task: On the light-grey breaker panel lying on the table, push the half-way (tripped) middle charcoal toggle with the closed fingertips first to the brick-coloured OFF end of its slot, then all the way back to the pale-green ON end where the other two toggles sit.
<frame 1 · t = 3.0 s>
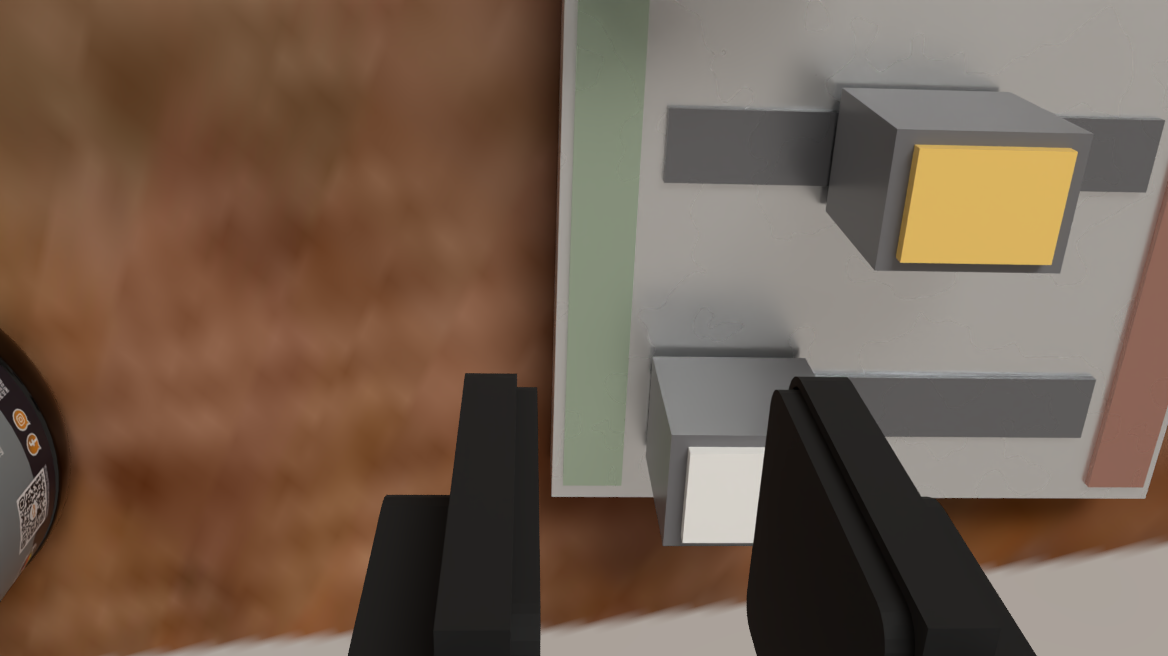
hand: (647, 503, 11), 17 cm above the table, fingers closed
panel: (886, 129, 27), on the table
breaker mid: (948, 178, 23), point 4 cm above the table, slide at 4.0 cm
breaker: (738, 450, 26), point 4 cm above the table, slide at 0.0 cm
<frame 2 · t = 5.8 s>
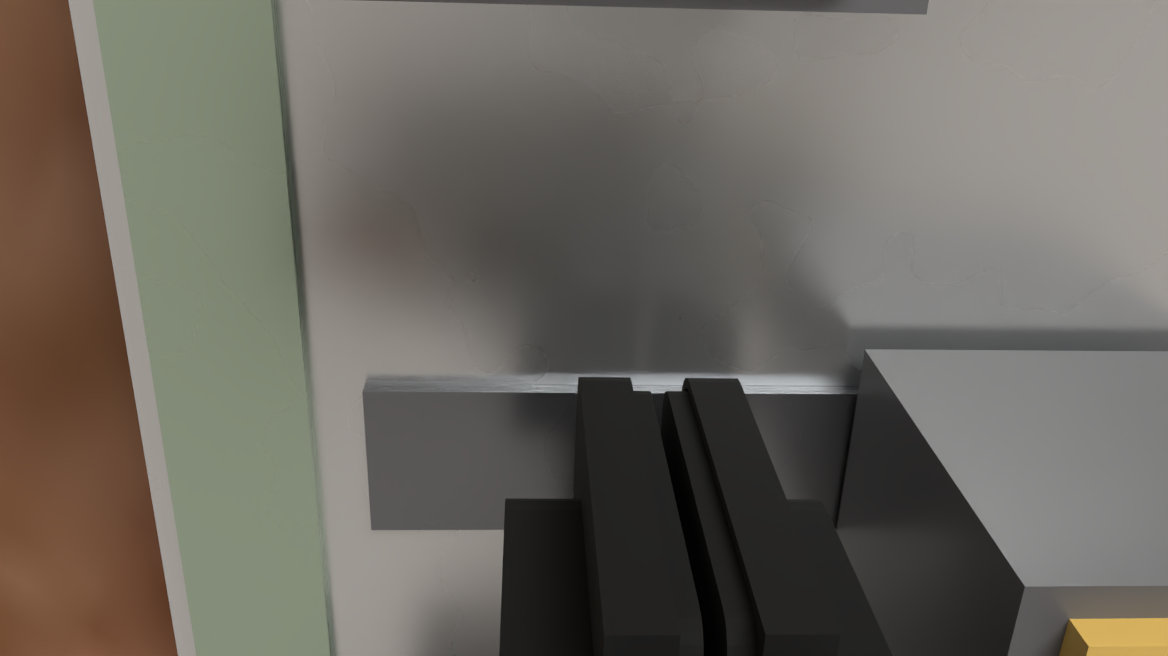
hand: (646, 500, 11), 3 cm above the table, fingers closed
panel: (842, 376, 14), on the table
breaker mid: (1112, 588, 10), point 4 cm above the table, slide at 5.4 cm, touching gripper
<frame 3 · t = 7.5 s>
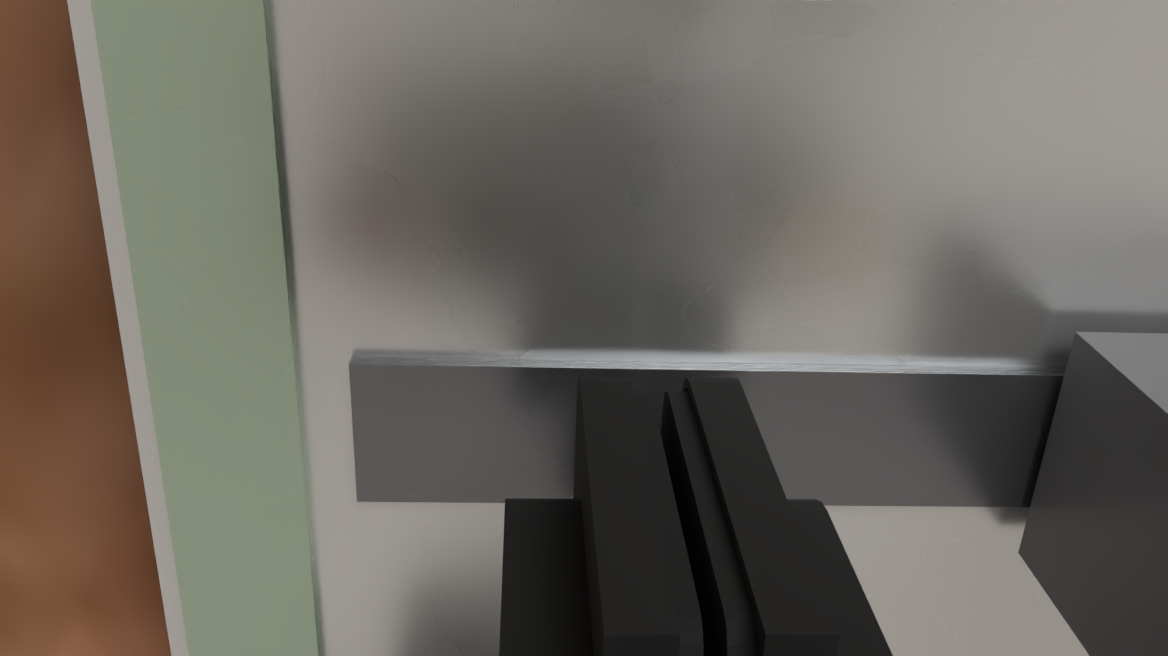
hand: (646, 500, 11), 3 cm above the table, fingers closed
panel: (823, 358, 14), on the table
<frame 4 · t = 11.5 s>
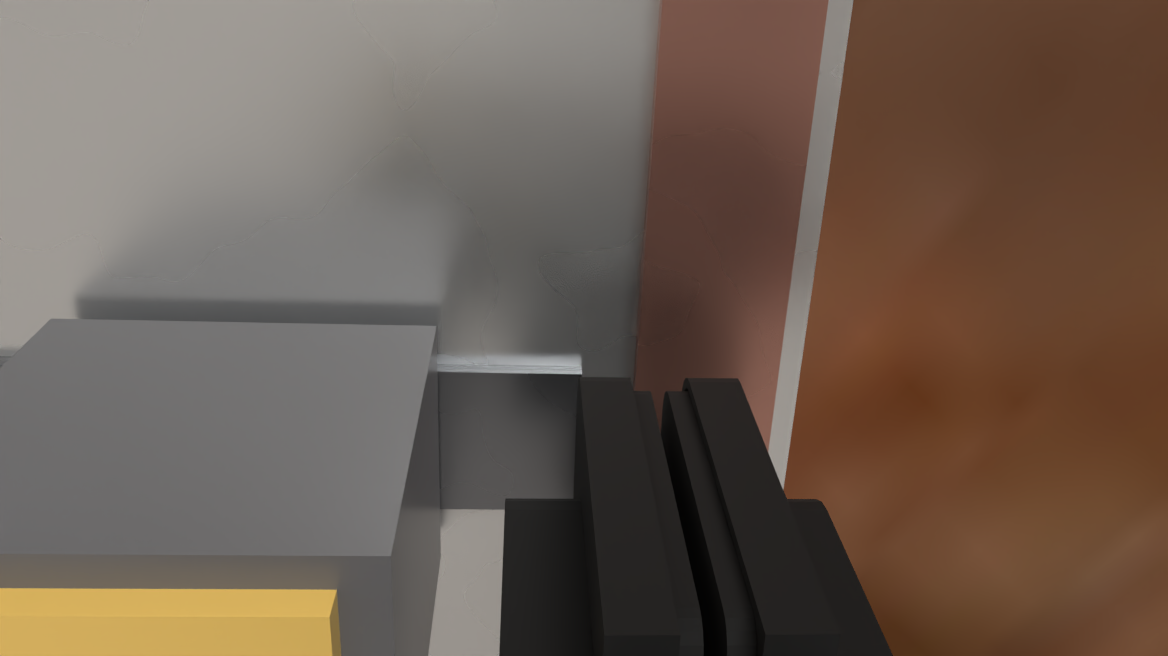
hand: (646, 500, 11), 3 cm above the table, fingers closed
panel: (111, 351, 14), on the table
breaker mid: (203, 564, 10), point 4 cm above the table, slide at 6.4 cm, touching gripper
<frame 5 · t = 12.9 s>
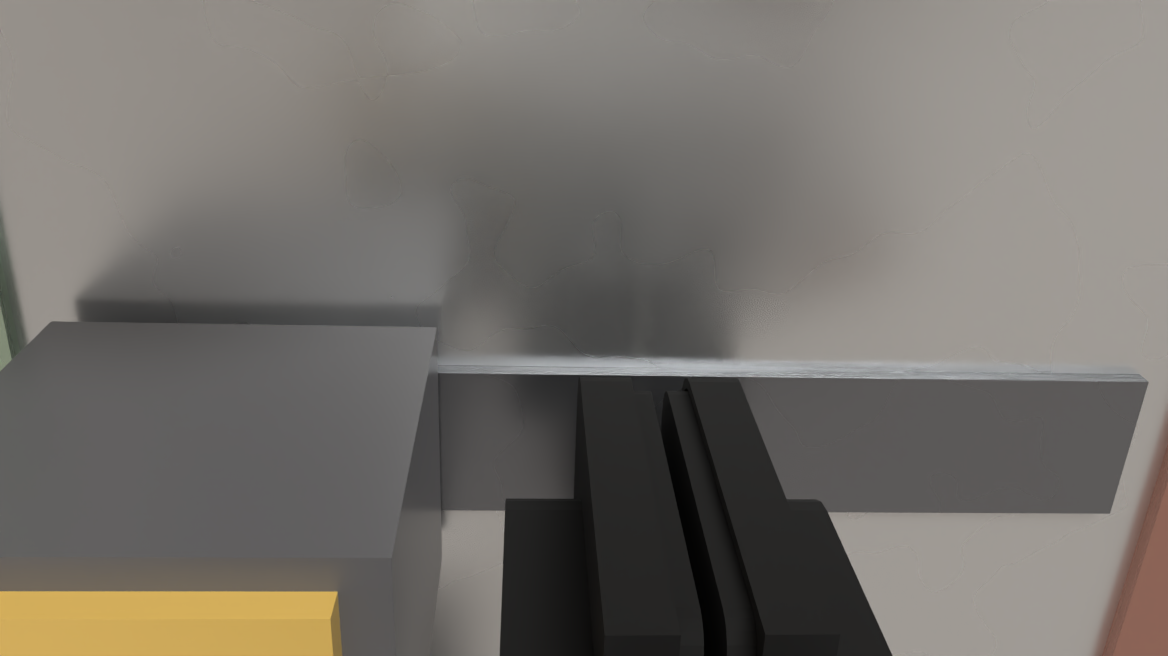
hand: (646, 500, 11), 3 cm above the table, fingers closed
panel: (608, 360, 14), on the table
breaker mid: (204, 567, 10), point 4 cm above the table, slide at -0.1 cm, touching gripper
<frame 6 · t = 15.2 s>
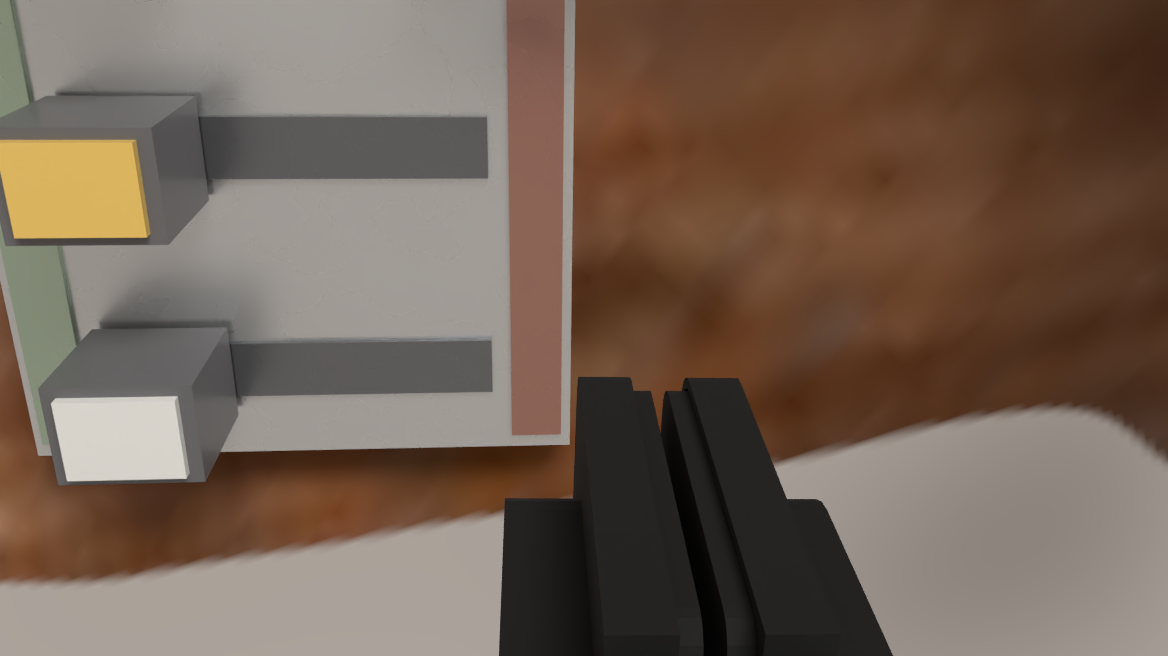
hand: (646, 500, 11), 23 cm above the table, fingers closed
panel: (291, 131, 32), on the table
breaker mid: (103, 168, 27), point 4 cm above the table, slide at -0.1 cm
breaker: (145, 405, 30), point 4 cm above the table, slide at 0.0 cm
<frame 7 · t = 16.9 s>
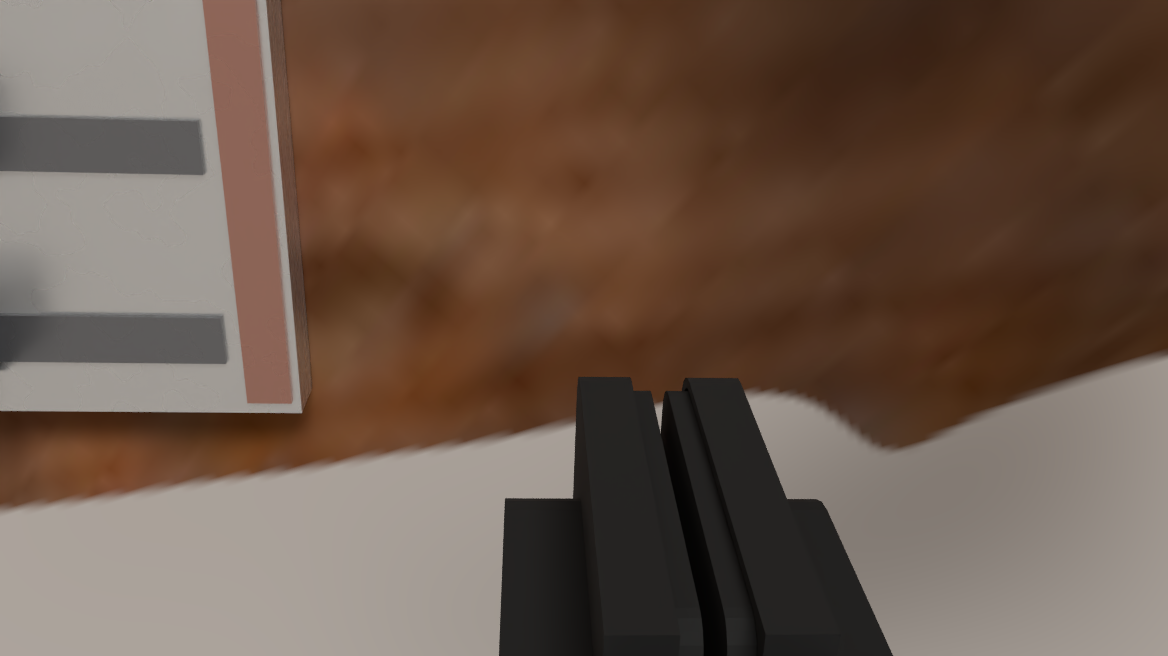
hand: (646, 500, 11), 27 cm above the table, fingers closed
panel: (40, 128, 36), on the table
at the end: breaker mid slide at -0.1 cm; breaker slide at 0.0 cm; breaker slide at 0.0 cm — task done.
